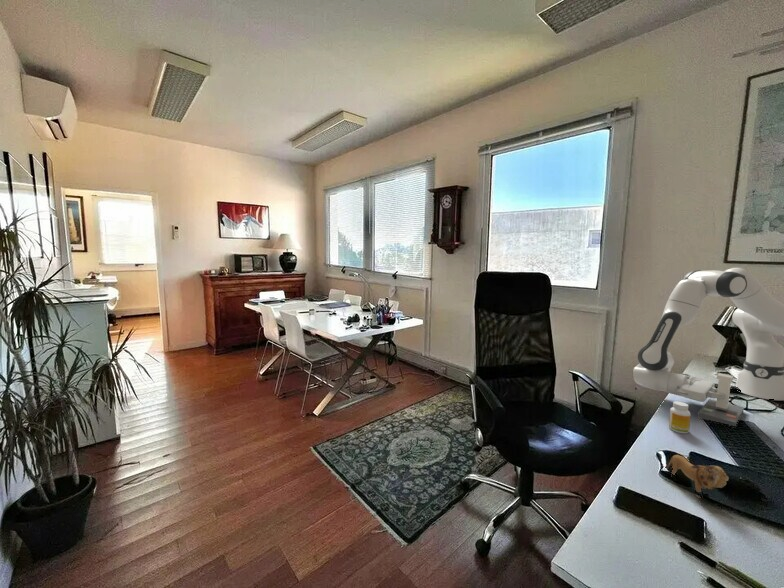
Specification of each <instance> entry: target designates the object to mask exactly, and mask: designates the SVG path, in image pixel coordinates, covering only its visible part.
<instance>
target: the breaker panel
mask: <svg viewBox="0 0 784 588" xmlns="http://www.w3.org/2000/svg"><path fill="white" fill-rule="evenodd" d="M744 410H745V407H743V406H739V405H734V404H731V403H728V409H727V411H724V410H720V409H716V400H715V399H712V398H709V399H708V400H707V401H706V402H705V403H704V405H703V406H702V407H701V409H700V410H699V411H698V412H697V418H698V419H702V420H706V421H709V420H711V421H710V422H712V421H716V422H721V423H725V424H729V425H733V426H736V427H737V425H738V423H739V421H740V419H741V418H742V415H743V414H744ZM738 420H739V421H738ZM716 422H715V423H716ZM737 422H738V423H737ZM736 424H737V425H736Z"/></svg>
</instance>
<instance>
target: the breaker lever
mask: <svg viewBox="0 0 784 588" xmlns="http://www.w3.org/2000/svg"><path fill="white" fill-rule="evenodd" d="M716 380H718V381H717V382H718V383H717V389H718V390H717V393H721V394H725V395H726V397H725V399H724V400H723V399H718V398H715V399H716V400H715V401H716V409H720V410H724V411H727V409H728V404H729V400H730V394H731V393H730V392H731V388H730V387H731V385H732V384H731V383H732V382H733V381H734V375H730V374H725V373H720V372H719V373H718V374H717V375H716Z"/></svg>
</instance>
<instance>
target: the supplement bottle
mask: <svg viewBox="0 0 784 588" xmlns="http://www.w3.org/2000/svg"><path fill="white" fill-rule="evenodd" d="M668 419H669V420H668V428H669V430H671V431H673V432H675V433H679V434H688V433H689V432H690V421H691V412H690V411H689V404H687V403H685V402H683V401H678V400H676V401H673V404H672V407H670V410H669V418H668Z"/></svg>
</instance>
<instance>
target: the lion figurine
mask: <svg viewBox="0 0 784 588" xmlns="http://www.w3.org/2000/svg"><path fill="white" fill-rule="evenodd" d="M671 465H672V467H671V469H672V468H673V470H672V472H671V471H670V472H671V473H672V474H673V475H675V473H676V472H677V471H678V470H681V472H682V473H683V474H684V475H685V476H686V477H687V478H689V479H690V480H692V481H693V482H694V486H695V487H694V488H695V490H696V491H697V492H701V488H702V489H705V490H706V489H708V490H713V489H716V488H717V489H719V488H720V489H722V488H724V487H725V486H726V485H727V482H728V481H729V478H730V477H729V476H728V475H727V473H726V472H725V470H724V469H723V468H722V467H720V466H718V465H710V464H709V465H700V464H697V465H694V464H692V463H690V462H689V461H688V459H687V458H686V457H684V456H682V455H679V454H674V455H673V456H671V458H670V460H669V462H668V463H667V465H665V466H664V467H665V468H667V469H669V468H670V466H671ZM662 467H663V466H661V467H660V469H661V468H662ZM672 474H671V475H672ZM675 476H676V475H675ZM695 497H697V498H698V499H702V498H701V497H699V496H698V495H696V494H695Z"/></svg>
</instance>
